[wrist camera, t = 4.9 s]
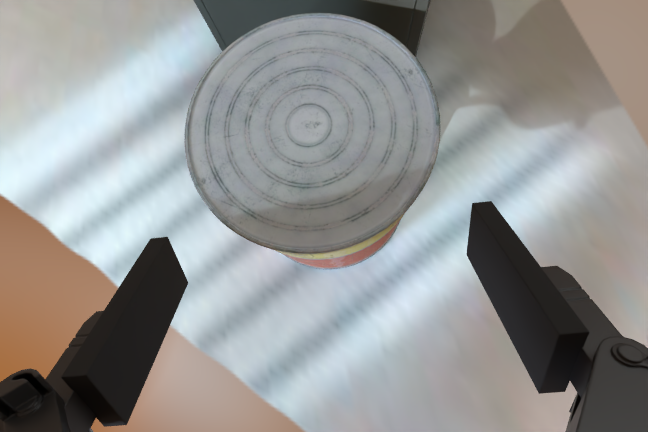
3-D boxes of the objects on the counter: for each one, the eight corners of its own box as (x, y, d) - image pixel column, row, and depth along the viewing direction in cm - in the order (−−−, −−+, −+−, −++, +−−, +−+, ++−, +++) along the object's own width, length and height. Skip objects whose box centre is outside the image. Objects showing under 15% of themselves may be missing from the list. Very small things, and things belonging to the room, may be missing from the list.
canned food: (335, 97, 29) (321, -31, 18) (436, 199, 27) (498, 130, 15) (227, 189, 28) (136, 119, 17) (320, 301, 26) (292, 311, 14)
